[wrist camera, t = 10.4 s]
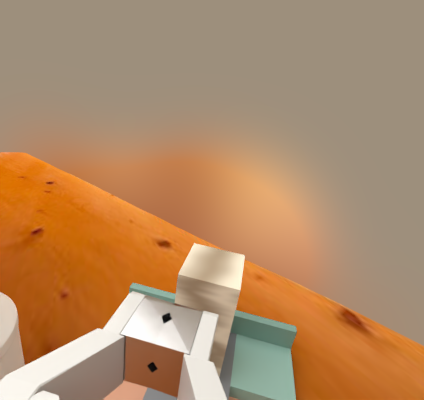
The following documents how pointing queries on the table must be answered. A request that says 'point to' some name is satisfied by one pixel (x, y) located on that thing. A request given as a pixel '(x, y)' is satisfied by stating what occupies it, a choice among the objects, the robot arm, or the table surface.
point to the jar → (9, 338)
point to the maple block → (212, 290)
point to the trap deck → (238, 359)
